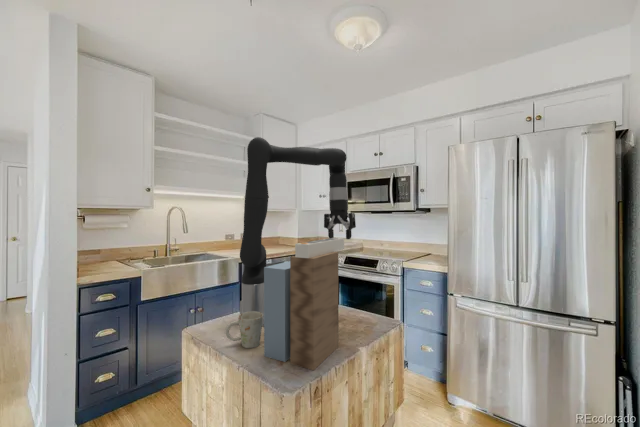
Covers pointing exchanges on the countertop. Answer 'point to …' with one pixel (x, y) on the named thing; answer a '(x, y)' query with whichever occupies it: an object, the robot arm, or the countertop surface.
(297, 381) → the countertop surface
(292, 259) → the walnut stand
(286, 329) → the blue stand
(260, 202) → the robot arm
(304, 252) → the light grey square-ended block
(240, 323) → the mug
